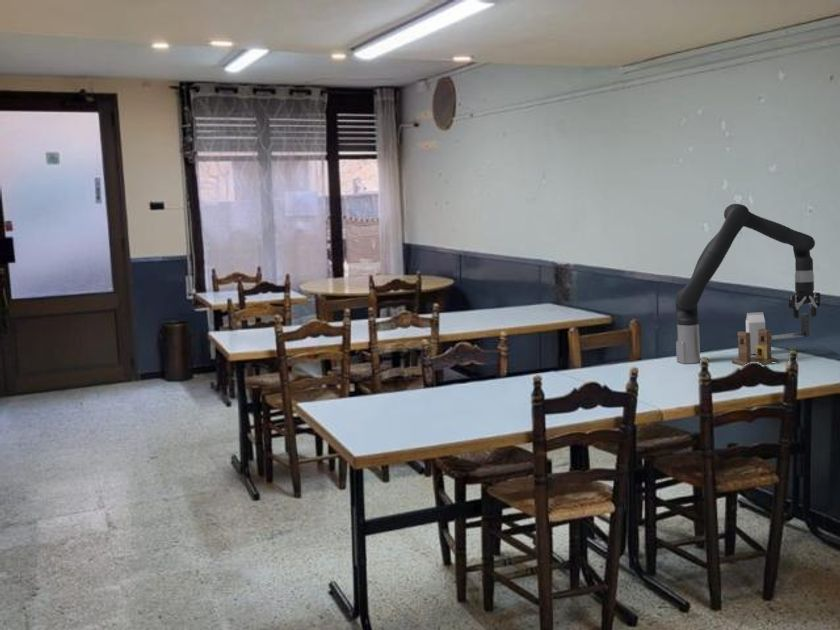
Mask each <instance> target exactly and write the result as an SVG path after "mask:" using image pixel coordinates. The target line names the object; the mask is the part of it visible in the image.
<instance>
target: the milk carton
mask: <svg viewBox="0 0 840 630" xmlns="http://www.w3.org/2000/svg"><path fill="white" fill-rule="evenodd" d="M758 329H766V319H765V316H764V312H763V311H760V312H759V311H758V312H747V313H746V318H745V332H748V333H750V345H751V354H756V352H755V344H759V343H758Z"/></svg>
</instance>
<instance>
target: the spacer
mask: <svg viewBox="0 0 840 630" xmlns="http://www.w3.org/2000/svg"><path fill="white" fill-rule="evenodd" d="M761 349H762V355H761ZM755 352H756V355H755V357H756V358H759V359H763V360H767V346H765V345H761V344H755Z"/></svg>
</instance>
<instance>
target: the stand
mask: <svg viewBox="0 0 840 630" xmlns="http://www.w3.org/2000/svg"><path fill="white" fill-rule="evenodd" d="M771 330H772V329H771ZM771 330H770V329H766V328H765V329H758V343H759V344H761V345H765V346H767V360H763V359H759V358H756V356H752V355H751V345H750V333H748V332H746V331H742V330H741V331H737V346H738V347H737V349H738V350H737V352H738V353H737V354H738V355H737V356H738V358H737V359H736V358H734V359H731V364H734V365H738V366H741V367H744V366H743V365H745V364H747V363H750V362H759V363H761V364H763V365H769V364H768V363H771V364H773V363H772V362H779V360H780V359H779V358H775V357H772V340H771V336H772V332H771ZM761 355H762V349H761ZM779 363H780V362H779Z"/></svg>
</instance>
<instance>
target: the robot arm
mask: <svg viewBox="0 0 840 630" xmlns="http://www.w3.org/2000/svg"><path fill="white" fill-rule="evenodd" d="M723 217H724V219H725V220H724V222H723V224H722V225H721V228H720V229H719V230H718V232H717V233H716V234H715V236H714V237H713V238H711V239H710V241H709V242H708V243H707V244H706V246H705V248H704V249H703V251H702V252H701V254H700V255H699V258H698V260H697V262H696V264H695V268H694V270H693V273H692V275H691V278H690V279H689V281H688V282H687V283H686V285H685V286H684V287H682V288H681V289H679V290H678V291H677V292H676V295H675V312H676V313H675V314H676V315H675V317H676V327H677V340H676V341H675V349H676V353H675V354H676V362H677V363H680V364H683V365H684V364H698V363H700V362H701V350H700V349H701V348H700V347H701V346H700V344H701V343H700V323H699V320H700V319H699V313H698V311H699V310H698V303H700V302H699V301H700V299H701V297H702V295H703V293H704V290H706V289H705V288H706V287H707V284H708V283H709V282H710V281H711V280H712V278H713V276H714V275H715V274H716V272H717V271H718V269H719V268H720V266H721V264H722V262H723V261H724V259H725V258H726V255H727V254H728V252H729V250H730V248H731V247H732V245H733V242H734V240H735V239H736V237H737V235H738V234H739V233H740V232H741V230H742V229H743V228H744V227H745V228H747V229H751V230H753V231H756V232H758V233H760V234H762V235H764V236H766V237H767V238H770V239H773V240H774V241H778V242H779V243H782V244H785V245H790V246H791V247H792V249H793V250H792V251H793V255H794V259H795V269H794V270H795V271H794V272H795V273H794V291H795V294H789V296H788V309H791V310H792V312H793V313H792V316H793V318H794V319H799V318H800V315H799V311H800V310H799V308H800V307H801V306H802V305H805V304H808V305H810V307H811V308H810V316H811V317H813V318H814V317H816V316H817V308H818V307H821V306H820V300H821V293H820V292H816V291H814V290H815V275H814V260H813V258H812V256H811V250H813V249H814V247H815V246H816V241H815V238H814V237H813V236H812V235H809V234H806V233H804V232H801V231H797V230H794V229H792V228H790V227H788V226H786V225H783V224H781V223H779V222H777V221H772V220H770V219H767V218H764V217H762V216H759V215H757V214H755V213H752V212H750V210H749V208H748V207H747V206H746V205H743V204H741V203H731V204H730V205H728V206H727V207H725V209H724V212H723ZM816 300H817V301H818V303H816Z"/></svg>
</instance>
